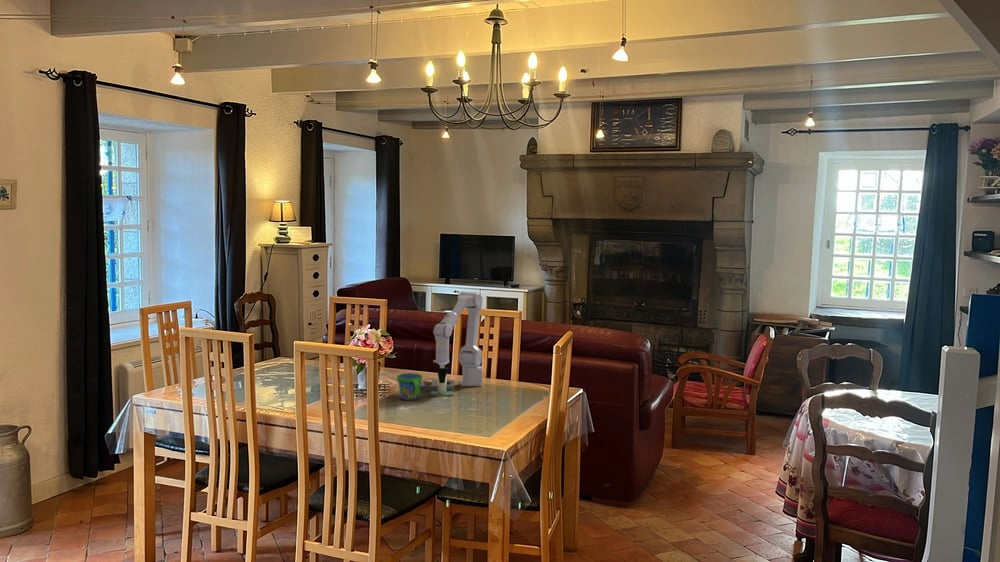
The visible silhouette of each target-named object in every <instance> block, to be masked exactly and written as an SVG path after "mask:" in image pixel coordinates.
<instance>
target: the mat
mask: <svg viewBox="0 0 1000 562" xmlns="http://www.w3.org/2000/svg"><path fill="white" fill-rule="evenodd" d="M430 396H431V397H453V396H454V392H453V391H446V394H438V393H437V391H431V392H430Z"/></svg>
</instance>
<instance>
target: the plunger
mask: <svg viewBox="0 0 1000 562" xmlns="http://www.w3.org/2000/svg"><path fill="white" fill-rule="evenodd" d="M423 380H424V382H425V384H431V382H432V380H433V379H423Z"/></svg>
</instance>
